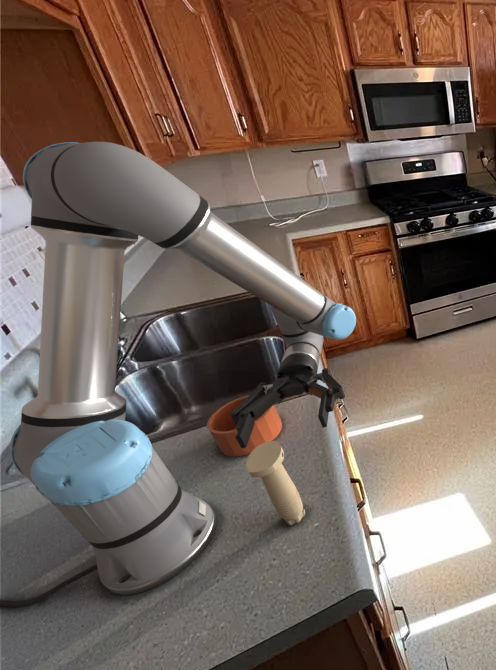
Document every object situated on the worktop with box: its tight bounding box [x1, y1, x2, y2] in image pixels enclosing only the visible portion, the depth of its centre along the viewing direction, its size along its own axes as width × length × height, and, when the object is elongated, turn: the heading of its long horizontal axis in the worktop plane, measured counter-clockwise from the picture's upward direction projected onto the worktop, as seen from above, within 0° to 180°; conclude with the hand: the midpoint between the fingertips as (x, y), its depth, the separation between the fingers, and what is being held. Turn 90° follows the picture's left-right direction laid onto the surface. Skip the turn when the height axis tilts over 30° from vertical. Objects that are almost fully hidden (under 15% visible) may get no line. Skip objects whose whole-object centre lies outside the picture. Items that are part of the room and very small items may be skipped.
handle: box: [245, 440, 306, 526], centre depth 68 cm, size 5×6×15 cm
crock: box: [206, 394, 283, 457], centre depth 89 cm, size 12×12×6 cm
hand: (282, 432), depth 74 cm, fingers open, 13 cm apart
